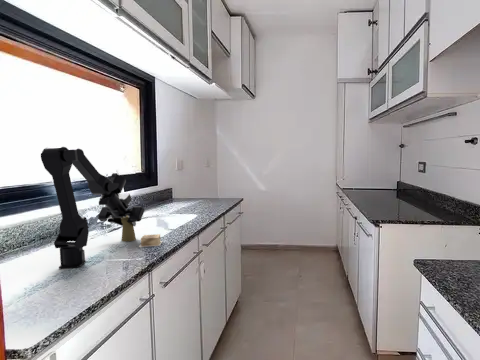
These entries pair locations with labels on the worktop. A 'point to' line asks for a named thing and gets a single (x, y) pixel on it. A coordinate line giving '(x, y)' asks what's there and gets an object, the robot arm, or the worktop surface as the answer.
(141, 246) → the pale blue tile
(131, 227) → the cork
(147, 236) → the oak block
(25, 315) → the worktop surface
